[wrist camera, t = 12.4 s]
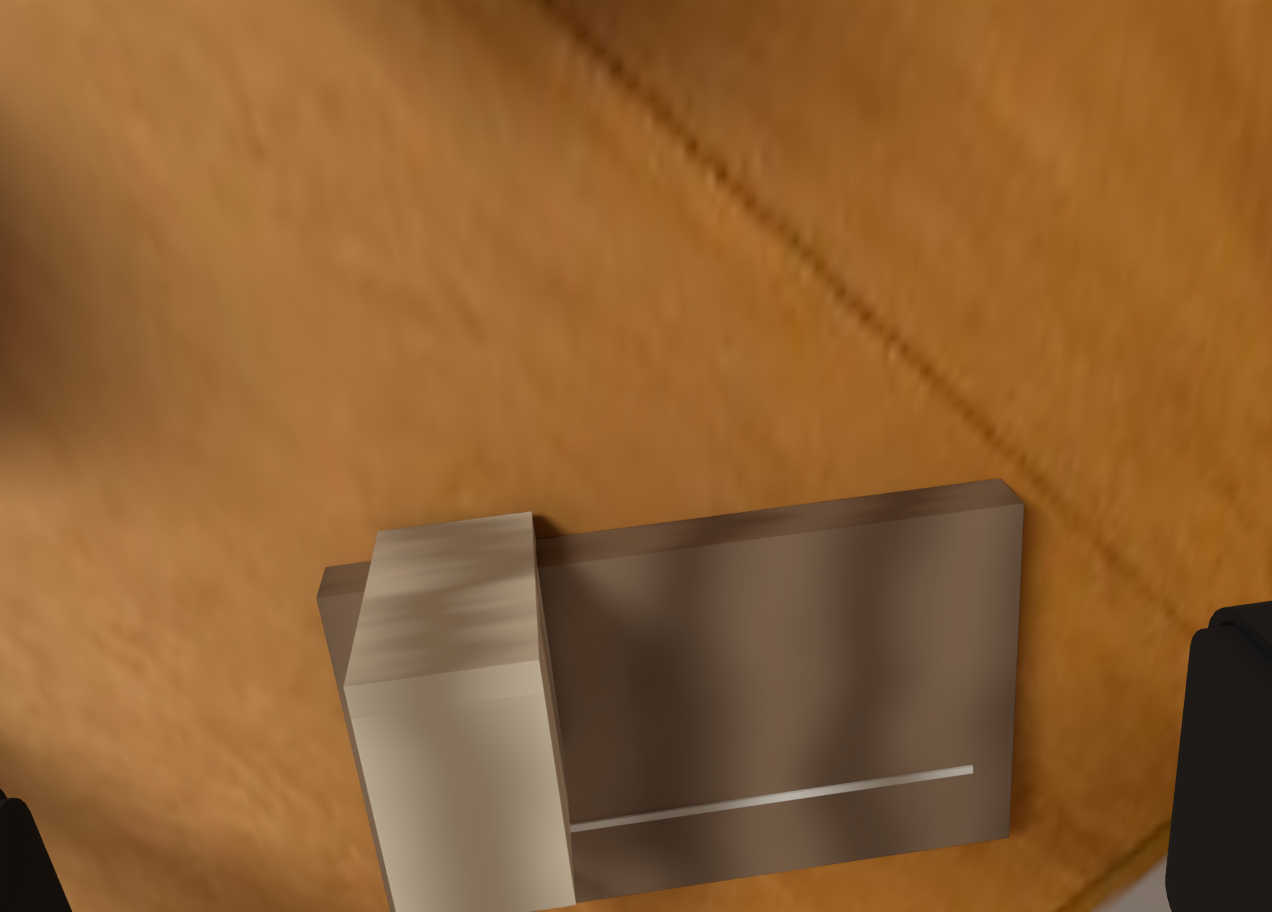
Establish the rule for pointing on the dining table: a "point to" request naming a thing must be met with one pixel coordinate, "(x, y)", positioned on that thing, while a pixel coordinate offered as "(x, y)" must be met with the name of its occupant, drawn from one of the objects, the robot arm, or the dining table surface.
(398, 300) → the dining table surface
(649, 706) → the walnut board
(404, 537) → the block
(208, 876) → the dining table surface
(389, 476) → the dining table surface
